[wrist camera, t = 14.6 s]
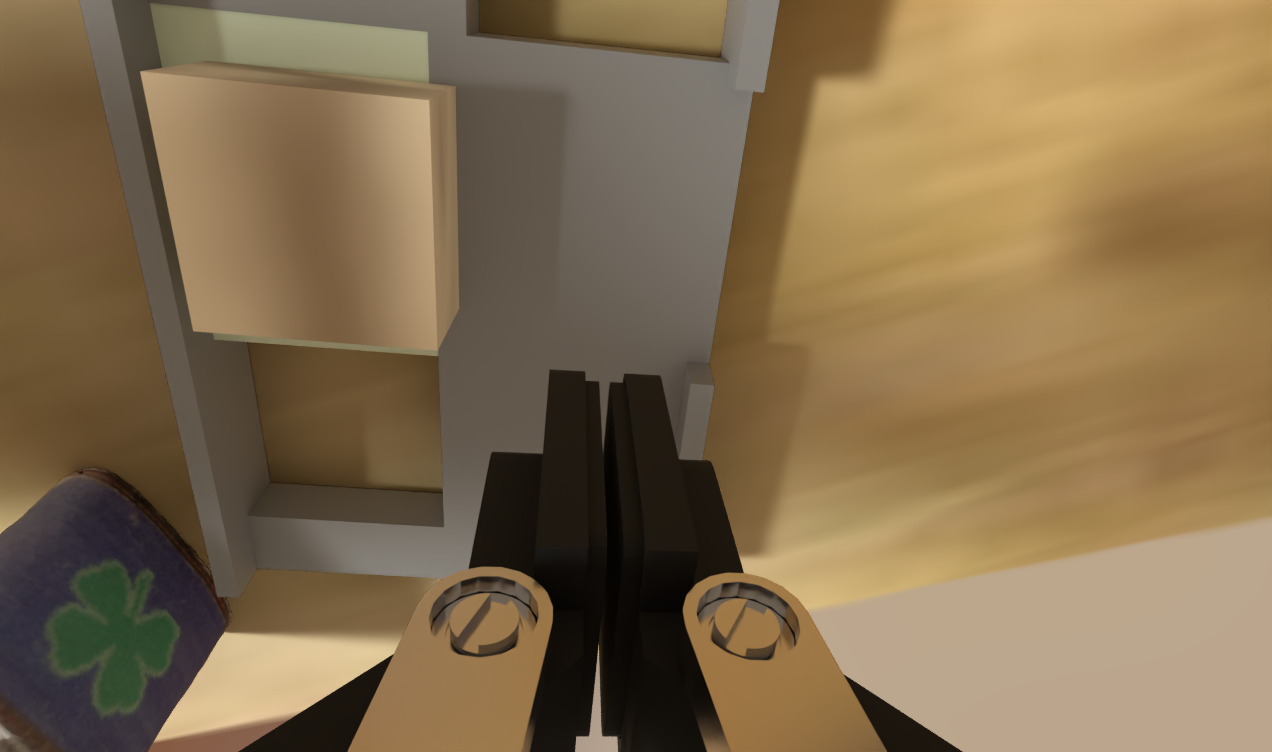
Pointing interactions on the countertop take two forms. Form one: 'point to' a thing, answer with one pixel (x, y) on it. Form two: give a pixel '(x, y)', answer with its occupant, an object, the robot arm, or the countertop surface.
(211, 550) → the board
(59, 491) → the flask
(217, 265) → the beech block
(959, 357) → the countertop surface
